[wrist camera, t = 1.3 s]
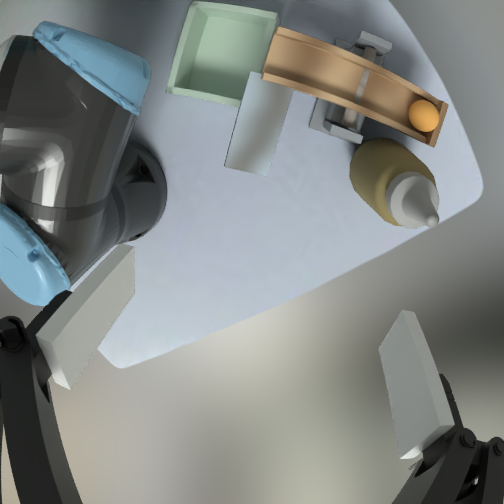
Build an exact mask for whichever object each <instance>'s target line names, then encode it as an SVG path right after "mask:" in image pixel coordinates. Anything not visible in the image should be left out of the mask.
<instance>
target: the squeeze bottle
mask: <svg viewBox="0 0 504 504" xmlns="http://www.w3.org/2000/svg"><path fill="white" fill-rule="evenodd" d="M350 180H351V183H352V185H353V188H354V190H355V191H356V192H357V193H358V194H359V196H360V197H361V198H362V199H363V200H364V201H365V202H366V203H367V204H368V205H369V206H370V207H371V208H372V209H373V210H374V211H375V212H377V213H378V214H379V215H380V216H381V217H382V218H383V219H384V220H385V221H387V222H389V223H391V224H393V225H395V226H404V227H406V228H419V227H421V226H424V225H426V226H428V227H430V228H433V227H435V226H436V225H437V224H438V222H439V216H438V214H437V210H438V205H439V195H438V191H437V188H436V184H435V179H434V176H433V174H432V173H431V172H430V170H429V169H428V167H427V166H426V165H425V164H424V163H423V162H422V161H421V160H419V159H418V158H417V157H416V156H415V155H414V154H413V153H412V152H411V151H409V150H408V149H407V148H406V147H405V146H404V145H402V144H400V143H399V142H397V141H395V140H393V139H391V138H379V137H378V138H375V139H372V140H369V141H366V142H365V143H364V144H363V145H362V146H360V147H359V148H358V149H357V150H356V151H355V153H354V156H353V158H352V160H351V162H350Z"/></svg>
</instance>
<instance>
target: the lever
mask: <svg viewBox="0 0 504 504" xmlns="http://www.w3.org/2000/svg"><path fill="white" fill-rule="evenodd" d="M376 54H377V51H376V50H375V49H373V48H370V47H365V49H364V52H363V56H362V57H359V56H357V55H355V54H353V53H350V52H348V51H346V50H343V49H341V48H339V47H336V46H334V45H331V44H329V43H326V42H324V41H321V40H318V39H316V38H313V37H310V36H307V35H304V34H301V33H298V32H295V31H292V30H289V29H286V28H283V27H278V28H276V29H275V30H274V33H273V36H272V39H271V42H270V45H269V49H268V52H267V55H266V58H265V62H264V65H263V68H262V72H261V74H260V73H256V72H252V71H250V72H249V75H248V79H247V82H246V86H245V89H244V93H243V96H242V100H241V103H240V107H239V111H238V114H237V118H236V121H235V125H234V129H233V133H232V136H231V140H230V144H229V148H228V152H227V156H226V160H225V164H224V167H227V168H232V169H236V170H241V171H245V172H250V173H254V174H258V175H263V176H267V175H268V172H269V169H270V166H271V162H272V159H273V156H274V152H275V149H276V146H277V143H278V139H279V136H280V133H281V129H282V126H283V123H284V120H285V116H286V113H287V110H288V107H289V103H290V100H291V97H292V94H293V90H297V91H300V92H303V93H306V94H309V95H312V96H315V97H318V98H321V99H323V100H326V101H329V102H332V103H334V104H337V105H340V106H342V107H345V108H346V109H345V112H344V115H343V118H342V121H341V124H342V125H345V126H347V127H350V128H353V126H354V123H355V120H356V117H357V114H358V113H360V114H362V115H365V116H367V117H369V118H372V119H374V120H376V121H378V122H381V123H383V124H385V125H387V126H389V127H392V128H394V129H396V130H398V131H400V132H402V133H404V134H406V135H408V136H410V137H412V138H414V139H416V140H418V141H420V142H422V143H425V144H427V145H429V146H432V147H435V144H436V141H437V139H438V136H439V133H440V130H441V127H442V124H443V121H444V118H445V115H446V112H447V109H448V104H447V103H445V102H444V101H440V100H438V99H436V98H435V97H433V96H432V95H430V94H429V93H427V92H425V91H424V90H422V89H420V88H419V87H417V86H415V85H414V84H412V83H410V82H408V81H407V80H405V79H403V78H401V77H399V76H398V75H396V74H394V73H392V72H390V71H388V70H386V69H384V68H382V67H380V66H378V65H376V64H374V60H375V57H376ZM418 100H426V101H428V102H430V103H432V104H433V105H434V106H435V107H436V109H437V110H438V113H439V123H438V125H437V127H436V128H435V129H433V130H432V131H428V132H423V131H420V130H418V129H416V128H415V127H414V126H413V125H412V123H411V122H410V119H409V108H410V106H411V105H412V104H413V103H414V102H416V101H418Z"/></svg>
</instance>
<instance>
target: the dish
mask: <svg viewBox="0 0 504 504" xmlns="http://www.w3.org/2000/svg"><path fill="white" fill-rule="evenodd" d="M278 27H280V21H279V17H278V14H277V13H274V12H270V11H265V10H260V9H254V8H248V7H242V6H236V5H229V4H221V3H212V2H202V1H192V2H191V5H190V8H189V11H188V14H187V17H186V20H185V23H184V26H183V29H182V33H181V36H180V39H179V43H178V46H177V50H176V54H175V57H174V61H173V65H172V68H171V72H170V76H169V80H168V85H167V89H166V93H172V94H178V95H183V96H188V97H194V98H199V99H203V100H208V101H213V102H217V103H222V104H226V105H230V106H234V107H238V108H239V107H240V103H241V100H242V96H243V93H244V89H245V86H246V82H247V79H248V75H249V72H250V71H252V72H256V73H260V74H261V72H262V68H263V65H264V62H265V58H266V55H267V52H268V49H269V45H270V42H271V39H272V36H273V33H274V30H275V29H276V28H278Z"/></svg>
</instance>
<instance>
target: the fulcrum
mask: <svg viewBox="0 0 504 504" xmlns="http://www.w3.org/2000/svg"><path fill="white" fill-rule="evenodd" d="M392 45H393V43H391V42H389V41H387V40H384V39H382V38H380V37H377V36H375V35H372V34H370V33H367V32H365V31H361V32H360V34H359V35H358V36H357V37H356V38H355V39H354V41H353V42H352V43H349V42H346V41H343V40H340V39H338V38H337V39H336V42H335V46H336V47H339V48H341V49H343V50H346V51H348V52H350V53H353V54H355V55H357V56H359V57H362V56H363V52H364V49H365V47H370V48H373V49H375V50H376V51H377V54H376V57H375V60H374V64H376V65H378V66H380V67H382V64H383V61H384V58H385V57H384V56H382V55H384V54H385V53H387V52H389V51H391V48H392ZM345 109H346V108H345V107H342V106H340V105H337V104H334V103H332V102H329V101H326V100H323V99H321V98H318V100H317V103H316V106H315V109H314V112H313V115H312V119H311V122H310V125H309V128H312V129H315V130H318V131H321V132H324V133H326V134H329V135H332V136H335V137H338V138H340V139H343V140H346V141H348V142H351V143H353V144H356V143H359V144H361V142H362V139H363V136H362V135H360V132H361V129H362V126H363V123H364V120H365V117H366V116H365V115H362V114H360V113H358V114H357V117H356V120H355V123H354V126H353V128H350V127H347V126H345V125H342V124H341V121H342V118H343V115H344V112H345Z"/></svg>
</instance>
